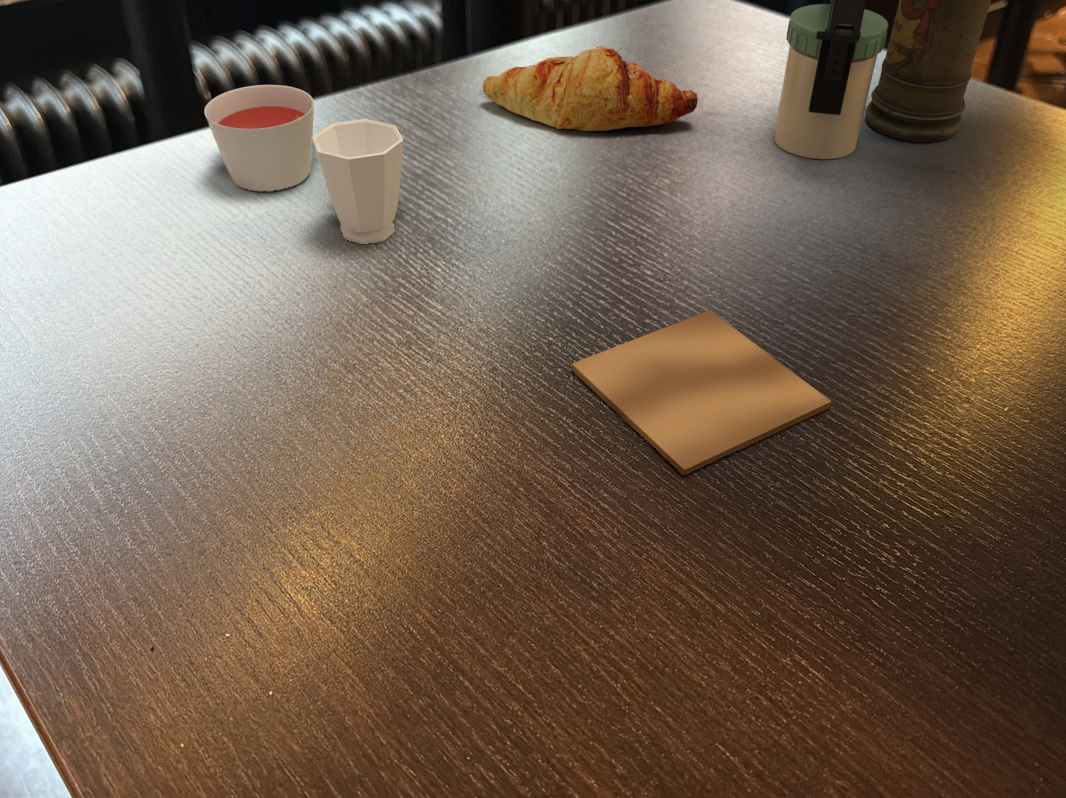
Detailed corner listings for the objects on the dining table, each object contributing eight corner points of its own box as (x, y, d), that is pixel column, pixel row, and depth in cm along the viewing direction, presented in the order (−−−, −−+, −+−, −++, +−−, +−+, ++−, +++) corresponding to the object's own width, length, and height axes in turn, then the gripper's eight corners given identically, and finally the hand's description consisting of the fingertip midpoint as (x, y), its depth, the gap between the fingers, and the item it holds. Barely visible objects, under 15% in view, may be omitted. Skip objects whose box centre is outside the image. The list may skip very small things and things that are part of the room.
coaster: (830, 408, 64) (832, 401, 64) (683, 476, 59) (684, 469, 59) (709, 316, 72) (710, 309, 72) (571, 370, 67) (571, 363, 67)
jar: (873, 147, 93) (901, 33, 86) (813, 166, 90) (837, 50, 83) (815, 117, 98) (837, 7, 91) (756, 135, 95) (775, 22, 88)
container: (940, 103, 101) (995, -89, 89) (974, 143, 94) (1037, -60, 82) (853, 104, 101) (896, -89, 89) (879, 144, 94) (930, -60, 82)
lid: (834, 20, 93) (839, -3, 91) (904, 48, 87) (909, 25, 86) (766, 36, 89) (770, 13, 88) (833, 67, 84) (838, 44, 82)
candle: (218, 204, 84) (202, 133, 80) (219, 156, 91) (205, 89, 87) (326, 193, 85) (316, 123, 81) (319, 147, 92) (310, 81, 88)
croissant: (477, 148, 100) (463, 94, 93) (496, 68, 104) (485, 11, 96) (690, 166, 96) (693, 112, 89) (702, 83, 100) (706, 24, 93)
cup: (315, 251, 78) (300, 156, 73) (340, 190, 86) (329, 100, 81) (404, 255, 78) (396, 159, 73) (422, 193, 86) (415, 103, 80)
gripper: (945, -164, 68) (870, 146, 82) (923, -215, 84) (863, 53, 98) (832, -170, 69) (778, 136, 84) (831, -219, 85) (786, 46, 99)
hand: (824, 91), depth 91 cm, fingers closed on lid, 8 cm apart
